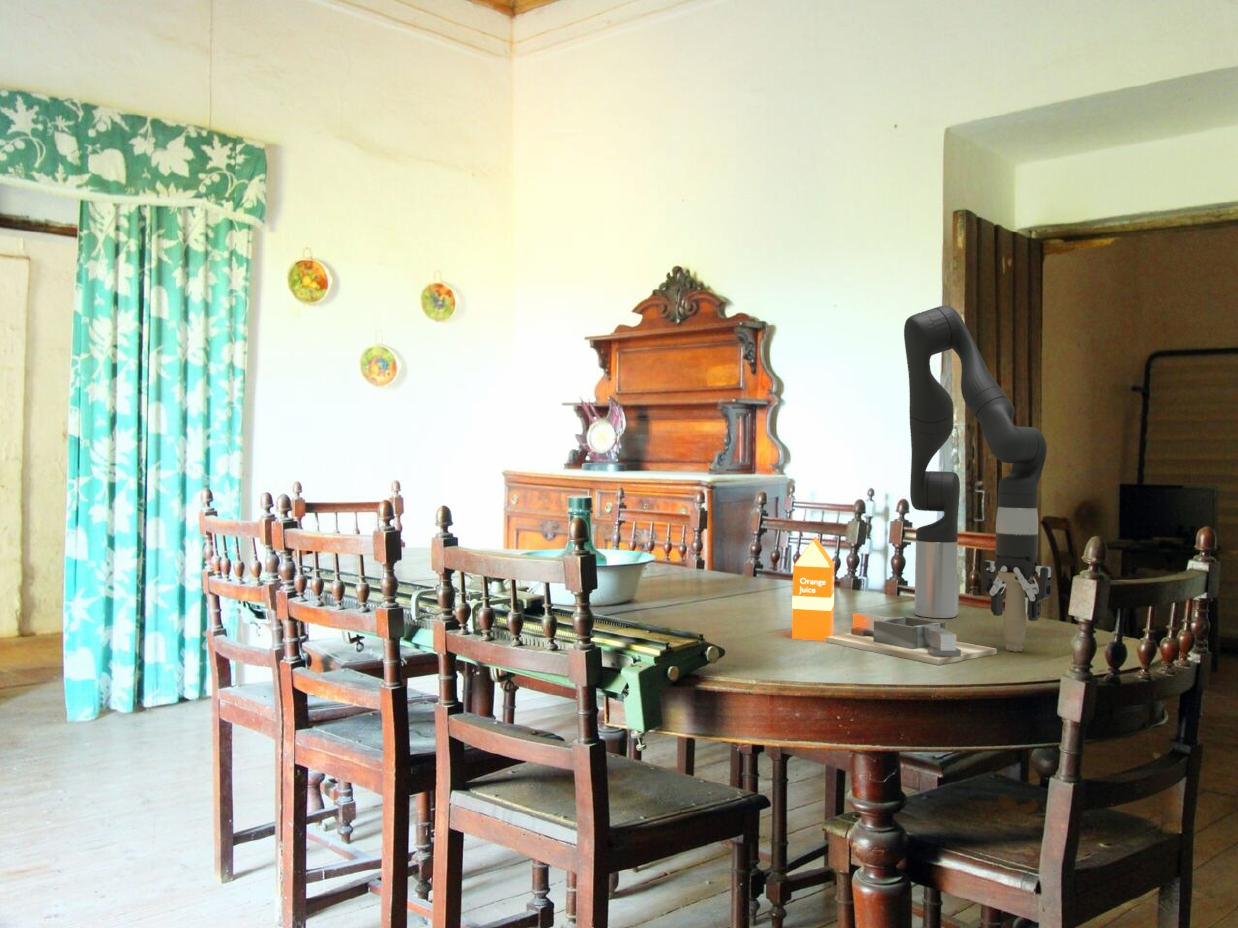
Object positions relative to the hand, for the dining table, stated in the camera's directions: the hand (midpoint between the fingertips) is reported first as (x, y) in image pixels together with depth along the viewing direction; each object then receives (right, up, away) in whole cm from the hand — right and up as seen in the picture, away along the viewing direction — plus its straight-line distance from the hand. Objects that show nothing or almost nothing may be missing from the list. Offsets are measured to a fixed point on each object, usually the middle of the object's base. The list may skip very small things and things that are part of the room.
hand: (1015, 617), depth 197 cm
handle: (0, -6, 0) cm, 6 cm away
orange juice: (-36, -6, +13) cm, 39 cm away
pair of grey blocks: (-21, -5, -1) cm, 22 cm away
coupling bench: (-20, -6, +1) cm, 21 cm away
